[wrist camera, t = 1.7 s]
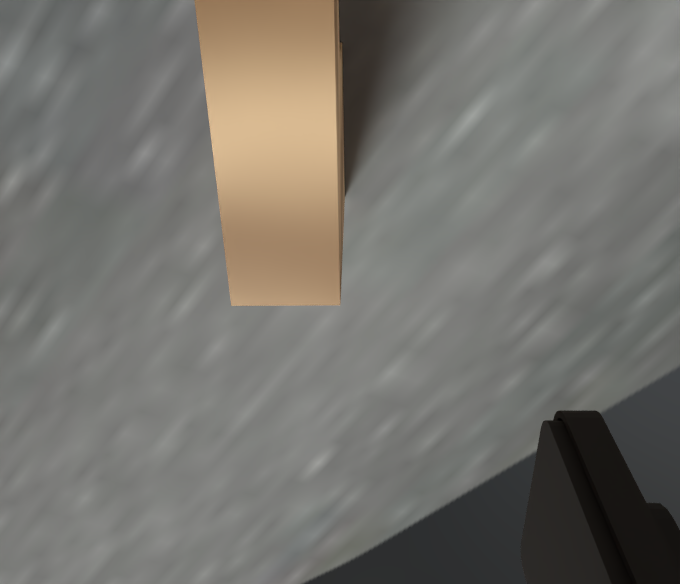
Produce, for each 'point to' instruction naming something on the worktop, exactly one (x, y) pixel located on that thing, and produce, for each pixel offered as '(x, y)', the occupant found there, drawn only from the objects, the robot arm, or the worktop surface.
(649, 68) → the worktop surface
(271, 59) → the oak plate
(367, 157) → the worktop surface
